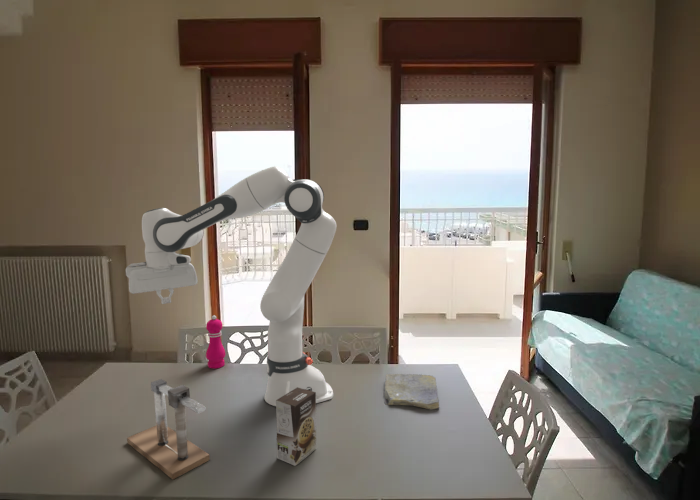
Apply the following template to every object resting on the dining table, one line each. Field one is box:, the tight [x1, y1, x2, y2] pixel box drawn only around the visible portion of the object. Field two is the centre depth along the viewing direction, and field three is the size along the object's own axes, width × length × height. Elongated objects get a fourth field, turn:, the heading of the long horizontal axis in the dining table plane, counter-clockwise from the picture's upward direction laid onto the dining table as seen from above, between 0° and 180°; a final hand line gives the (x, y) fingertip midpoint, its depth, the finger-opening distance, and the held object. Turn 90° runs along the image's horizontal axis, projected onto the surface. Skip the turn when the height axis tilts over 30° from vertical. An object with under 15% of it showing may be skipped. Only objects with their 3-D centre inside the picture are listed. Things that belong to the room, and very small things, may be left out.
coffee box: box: [275, 387, 317, 467], centre depth 117 cm, size 9×6×16 cm
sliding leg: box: [150, 378, 207, 443], centre depth 113 cm, size 21×3×17 cm, turn 50°
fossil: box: [383, 373, 440, 411], centre depth 150 cm, size 20×5×17 cm
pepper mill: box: [205, 314, 226, 370], centre depth 173 cm, size 7×7×20 cm
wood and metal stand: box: [126, 384, 211, 480], centre depth 118 cm, size 24×10×20 cm, turn 50°
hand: (166, 303), depth 144 cm, fingers closed
